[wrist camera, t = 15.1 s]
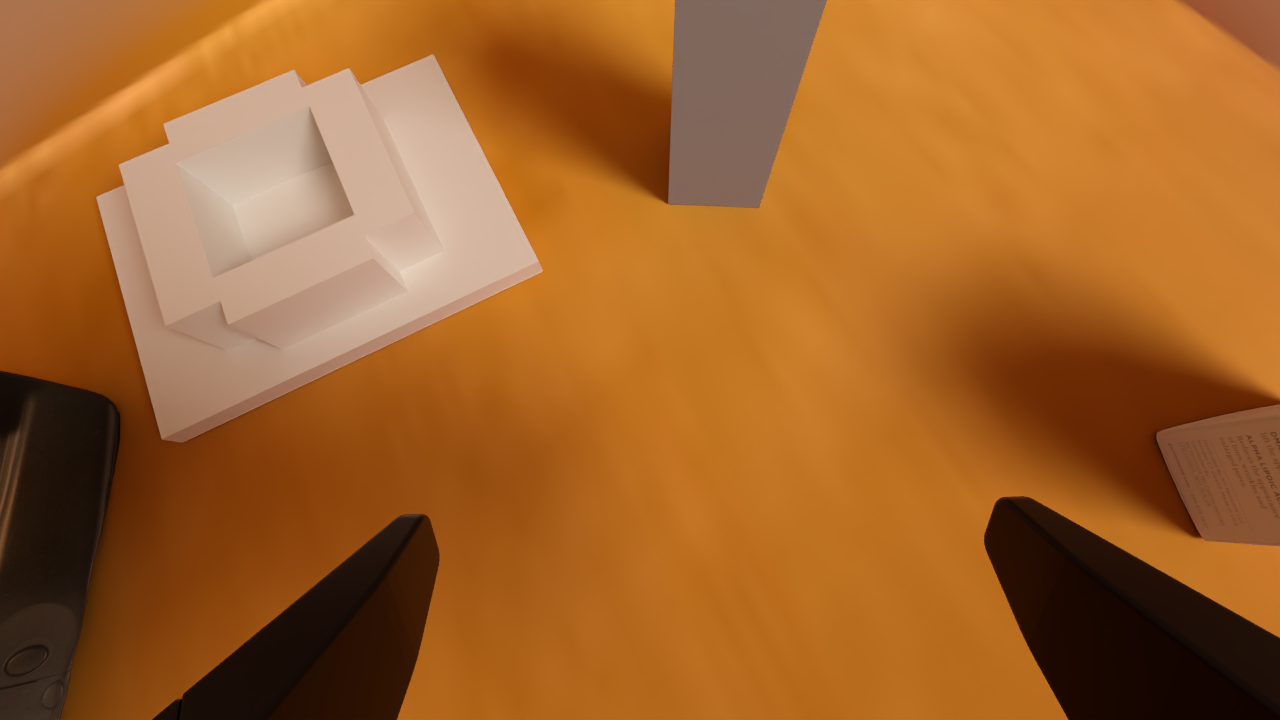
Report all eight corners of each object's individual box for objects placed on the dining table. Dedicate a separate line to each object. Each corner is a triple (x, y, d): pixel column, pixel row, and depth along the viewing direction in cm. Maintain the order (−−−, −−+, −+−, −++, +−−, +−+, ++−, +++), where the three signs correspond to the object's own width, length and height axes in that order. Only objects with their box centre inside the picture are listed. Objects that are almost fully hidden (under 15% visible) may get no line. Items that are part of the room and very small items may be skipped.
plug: (759, 130, 26) (854, -232, 13) (758, 207, 25) (861, -109, 12) (672, 127, 26) (686, -233, 14) (668, 204, 25) (679, -112, 13)
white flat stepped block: (441, 70, 27) (405, -4, 24) (543, 271, 24) (521, 224, 20) (117, 208, 26) (22, 154, 22) (182, 442, 23) (85, 427, 19)
